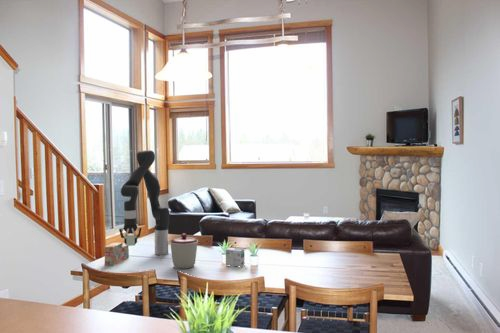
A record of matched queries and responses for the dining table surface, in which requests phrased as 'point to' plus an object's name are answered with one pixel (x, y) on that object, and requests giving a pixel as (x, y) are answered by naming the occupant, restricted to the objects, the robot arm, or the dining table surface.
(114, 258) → the stack of blocks
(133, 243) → the sage block
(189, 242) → the canister
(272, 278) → the dining table surface
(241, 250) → the light bulb box
